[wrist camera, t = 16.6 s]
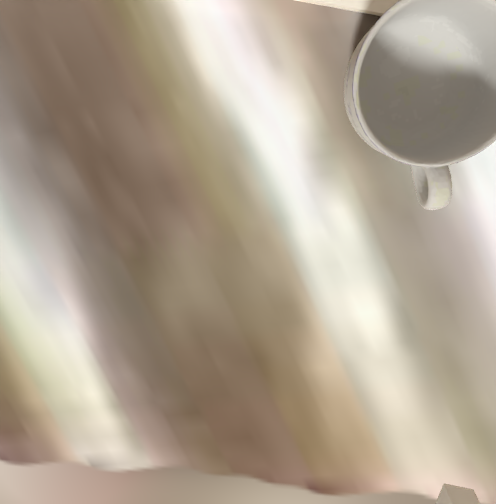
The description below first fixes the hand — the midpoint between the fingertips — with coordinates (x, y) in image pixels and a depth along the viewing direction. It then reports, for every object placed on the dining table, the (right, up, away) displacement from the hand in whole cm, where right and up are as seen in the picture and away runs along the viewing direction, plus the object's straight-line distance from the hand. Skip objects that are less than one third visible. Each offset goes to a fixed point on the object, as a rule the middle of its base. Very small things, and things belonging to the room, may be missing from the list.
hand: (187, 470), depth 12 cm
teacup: (+14, +17, +23) cm, 33 cm away
